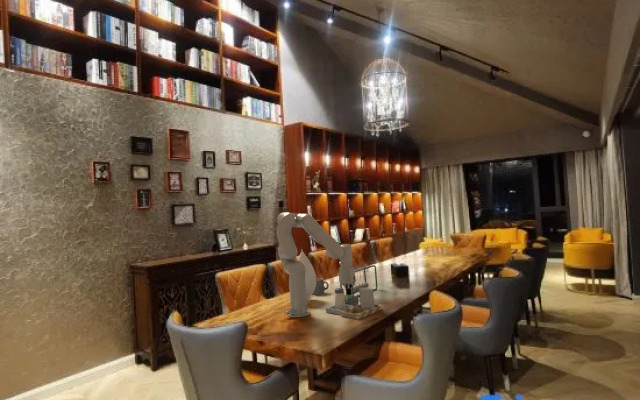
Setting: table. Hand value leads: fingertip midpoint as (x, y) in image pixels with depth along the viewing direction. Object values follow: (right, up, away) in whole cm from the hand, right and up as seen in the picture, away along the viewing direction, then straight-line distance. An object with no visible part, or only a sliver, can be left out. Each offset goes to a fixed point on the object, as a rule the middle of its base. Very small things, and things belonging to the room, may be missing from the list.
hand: (348, 294), depth 247 cm
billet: (-6, -7, -11) cm, 14 cm away
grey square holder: (0, -7, 0) cm, 7 cm away
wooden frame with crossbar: (+6, -6, -17) cm, 19 cm away
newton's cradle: (+10, -7, +31) cm, 33 cm away
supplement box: (+10, -6, -13) cm, 18 cm away
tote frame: (-6, -7, -11) cm, 14 cm away
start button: (0, -6, 0) cm, 6 cm away
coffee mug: (-18, -9, +40) cm, 45 cm away
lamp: (-27, -9, +22) cm, 36 cm away
